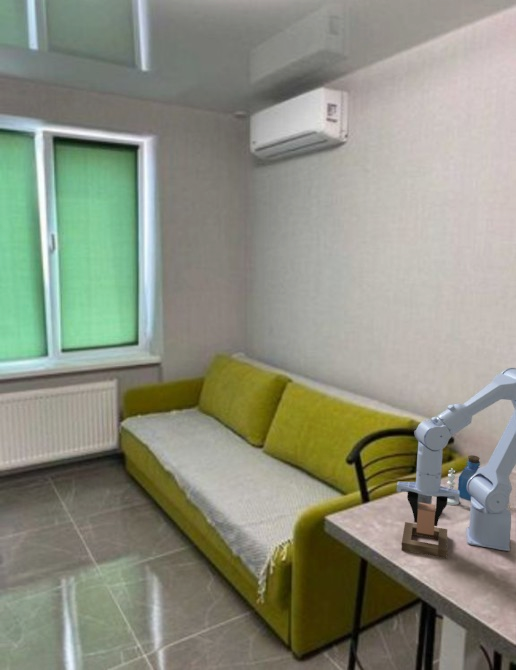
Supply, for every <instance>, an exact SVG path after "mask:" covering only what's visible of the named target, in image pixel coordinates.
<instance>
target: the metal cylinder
mask: <svg viewBox="0 0 516 670" xmlns="http://www.w3.org/2000/svg"><path fill="white" fill-rule="evenodd" d="M432 501H433V496H426V495H422V494H418V503H419V502H420V503H426V504H433V503H432Z"/></svg>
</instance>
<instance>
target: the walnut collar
mask: <svg viewBox="0 0 516 670" xmlns="http://www.w3.org/2000/svg"><path fill="white" fill-rule="evenodd" d="M416 531H417V523H415V522H413V523H412V522H407V521H405V522H404V526H403V533H402V538H401V539H402V540H401V549H400V550H401V551H404V552H409V553H415V554H418V555H419V554H420V555H424V556H430V557H435V558H439V559H440V558H442V559H448V529H447V528H441V527H438V526H434V535H429V534H423V533H418V532H416ZM413 535H414V536H419V537H420V536H421V537H425V538H430V539H437V540H438V542H437V544H436V543H430V542H424V541H419V540H414V539H413Z"/></svg>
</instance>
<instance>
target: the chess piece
mask: <svg viewBox="0 0 516 670" xmlns="http://www.w3.org/2000/svg"><path fill="white" fill-rule="evenodd" d="M455 473H456V470H454V469H453V468H452V467H451V468H450V469H449V470H448V474H447V477H448V481H447V482H446V483H447V485H448V488H450V489H453V488H454V487H453V486H455V485H456V482H454V479H455V478H456V475H455ZM453 490H454V489H453ZM459 503H460V500H459V501H455V500H454V499H448V498H447V505H450V506H456V505H459Z"/></svg>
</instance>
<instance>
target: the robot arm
mask: <svg viewBox="0 0 516 670" xmlns="http://www.w3.org/2000/svg"><path fill="white" fill-rule="evenodd" d="M500 400H508V401H511V404H512V405H513V408H514V411H513V413H512V415H511V417H510V419H509V421H508V423H507V425H506V427H505V429H504V430H503V433H502V434H501V437H500V439H499V441H498V442H497V445H495V448H494V451H493V453H492V454H491V456H490V458H489V460H488V462H487V464H486V465H483V466H479V467H480V468H478V470H477V472H476V473H475V474H474V475H473V476H472V477H471V478H470V479H469V480H468V482H467V491H468V493H469V494H470V495H471V500H470V511H469V526H467V527H466V528H465V529H466V544H468V545H471V546H472V545H473V546H477V547H482V548H483V547H484V548H488V549H494V550H495V549H496V550H501V551H505V552H509V551H510V543H511V542H510V541H511V530H512V512H511V509H509V508H507V507H508V506H509V504H510V496H511V493H512V490H513V486H512V482H511V479H510V475H511V474H512V472H513V470H514V468H515V466H516V367H507V368H505V369H504V370H503V371H501V372H500V373H497V374H496V375H495V376H494V377H493V379H492V381H491V382H489V384H487V385H486V386H484V388H482V389H481V390H480V391H478V392H477V393H476V394H475V395H473V396H472V397H471V398H469V399H468V400H467V401H465V402H464V403H454V404H452V403H451V404H448V405H447V406H446V407H447V409H444V411H442V412H441V413H439V414H437V415H436V416H433V417H431V418H430V419H431V420H423V421H421V422H420V423H419V424H418V425H417V427H416V430H414V431H413V432H414V433H413V434H414V437H415V438H416V440H417V442H418V443H417V457H416V458H417V459H416V475H415V476H416V477H415V481H397V482H396V483H397V484H396V492H397V493H402V492H404V493H407V495H406V498H407V501H408V503H409V505H410V507H411V511H412V515H413V520H414V521H413V523H414V524H417V515H418V494H422V495H426V496H432V497H436V501H435V521H434V527H438V523H439V520H440V517H441V515H442V513H443V512H444V510H445V509H446V507H447V505H448V504H447V498H448V499H454V500H455V501H459V502H460V497H459V495H460V492H459V490H458V489H450V488H449V487H446V486H443V485H441V482H442V481H441V480H442V468H443V467H442V465H443V449H445V448H446V447H447V446H448V443H449V441H450V439H451V438H452V437H453V436H454V435H456V434H457V433H458V432H460V431H462V430H463V429H464V428H466V427H468V426H469V425H471V424H472V421H473V416H475V415H477V414H478V413H480V412H481V411H484V410H485V409H487V408H489V407H490V406H493V405H494V404H495V403H497V402H499V401H500Z"/></svg>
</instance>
